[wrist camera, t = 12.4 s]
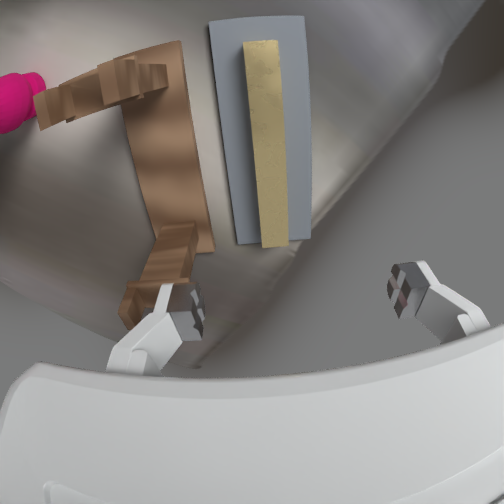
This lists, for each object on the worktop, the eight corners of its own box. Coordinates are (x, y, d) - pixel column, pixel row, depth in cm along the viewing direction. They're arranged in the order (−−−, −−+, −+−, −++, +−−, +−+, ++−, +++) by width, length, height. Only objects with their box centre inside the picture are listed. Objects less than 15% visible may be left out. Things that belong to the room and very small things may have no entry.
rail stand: (117, 58, 21) (22, 67, 9) (181, 41, 21) (117, 19, 9) (164, 250, 36) (133, 344, 24) (215, 246, 36) (202, 345, 24)
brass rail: (243, 44, 21) (242, 41, 19) (275, 42, 20) (277, 39, 18) (261, 235, 34) (262, 248, 32) (286, 233, 34) (288, 245, 32)
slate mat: (209, 23, 20) (208, 21, 19) (302, 17, 19) (303, 16, 19) (238, 240, 35) (238, 244, 35) (309, 234, 35) (310, 238, 34)
